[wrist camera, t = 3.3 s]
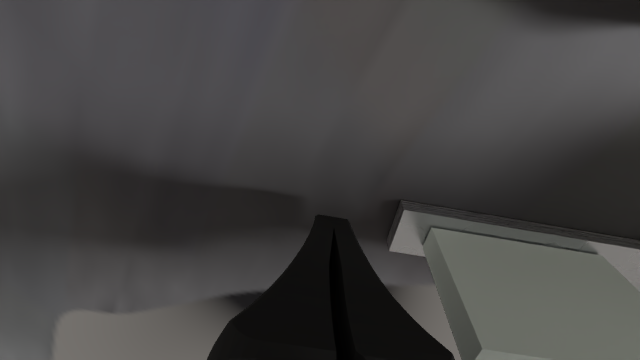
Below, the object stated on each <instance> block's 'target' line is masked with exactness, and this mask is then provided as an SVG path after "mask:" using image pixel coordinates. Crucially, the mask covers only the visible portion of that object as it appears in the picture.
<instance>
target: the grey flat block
mask: <svg viewBox="0 0 640 360" xmlns="http://www.w3.org/2000/svg"><path fill="white" fill-rule="evenodd" d="M422 248H423V251H424V254H425V256H426V259H427V262H428V265H429V268H430V271H431V274H432V276H433V279H434V282H435V285H436V288H437V291H438V294H439V296H440V299H441V302H442V305H443V308H444V311H445V314H446V316H447V319H448V322H449V325H450V328H451V330H452V333H453V336H454V339H455V342H456V345H457V348H458V350H459V354H460V356H461V359H462V360H640V292H639V291H638V290H637V289H636V288H635V287H634V286H633V285H632V284H631V283H630V282H629V281H628V280H627V279H626V278H625V277H624V276H623V275H622V274H621V273H620V272H619V271H618V270H616V269H615V268H614V267H613V266H612V265H611V264H610V263H609V262H608V261H607V260H606V259H605V258H604V257H603V256H601V255H595V254H589V253H583V252H577V251H571V250H565V249H559V248H553V247H546V246H540V245H534V244H528V243H522V242H516V241H510V240H504V239H498V238H492V237H486V236H480V235H474V234H468V233H462V232H456V231H450V230H444V229H438V228H432V227H431V229H430V232H429V234H428V236H427V238H426V241H425V243H424V245H423V247H422Z"/></svg>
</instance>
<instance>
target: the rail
mask: <svg viewBox="0 0 640 360" xmlns="http://www.w3.org/2000/svg"><path fill="white" fill-rule="evenodd" d="M431 227H432V228H438V229H444V230H450V231H456V232H462V233H468V234H474V235H480V236H486V237H492V238H498V239H504V240H510V241H516V242H522V243H528V244H534V245H540V246H546V247H553V248H559V249H565V250H571V251H577V252H583V253H589V254H595V255H601V256H603V257H604V258H605V259H606V260H607V261H608V262H609V263H610V264H611V265H612V266H613V267H614V268H615V269H616V270H618V271H619V272H620V273H621V274H622V275H623V276H624V277H625V278H626V279H627V280H628V281H629V282H630V283H631V284H632V285H633V286H634V287H635V288H636V289H637V290H638V291H640V240H635V239H629V238H623V237H617V236H611V235H605V234H600V233H594V232H588V231H582V230H576V229H570V228H564V227H558V226H552V225H546V224H540V223H534V222H529V221H523V220H517V219H511V218H505V217H499V216H493V215H487V214H481V213H475V212H469V211H463V210H458V209H452V208H446V207H440V206H434V205H428V204H422V203H416V202H410V201H404V200H401V201H400V204H399V207H398V209H397V212H396V215H395V218H394V221H393V223H392V226H391V229H390V232H389V235H388V237H387V244H388V249H389V251H392V252H398V253H405V254H411V255H417V256H423V257H426V256H425V254H424V251H423V248H422V247H423V245H424V243H425V241H426V238H427V236H428V234H429V232H430V229H431Z"/></svg>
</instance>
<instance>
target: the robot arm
mask: <svg viewBox="0 0 640 360" xmlns="http://www.w3.org/2000/svg"><path fill="white" fill-rule="evenodd" d="M207 360H455V359H454V356H453V354H452V353H451V352H450V351H449V350H448V349H446V348H445V347H444V346H443V345H442V344H440V343H439V342H438V341H437V340H436V339H435V338H433V337H432V336H431V335H430V334H429V333H428V332H426V331H425V330H424V329H423V328H422V327H421V326H420V325H419V324H418V323H417V322H416V321H415V320H414V319H413V318H412V317H411V316H410V315H409V314H408V313H407V312H406V311H405V310H404V309H403V307H402V306H401V305H400V304H399V303H398V302H397V301H396V300H395V299H394V297H393V296H392V295H391V294H390V292H389V291H388V290H387V288H386V287H385V286H384V284H383V283H382V282H381V280H380V279H379V277H378V276H377V274H376V273H375V271H374V270H373V268H372V267H371V265H370V263H369V262H368V260H367V258H366V256H365V254H364V253H363V251H362V249H361V247H360V245H359V243H358V241H357V239H356V237H355V235H354V232H353V230H352V228H351V225H350V223H349V221H348V220H347V219H342V218H336V217H330V216H324V215H317V216H315V220H314V224H313V227H312V229H311V232H310V234H309V236H308V238H307V239H306V241H305V243H304V245H303V246H302V248H301V249H300V251H299V252H298V254H297V255H296V257H295V258H294V260H293V261H292V262H291V264H290V265H289V266H288V268H287V269H286V270H285V271H284V272H283V274H282V275H281V276H280V277H279V278H278V279H277V280H276V281H275V282H274V284H273V285H272V286H271V287H270V288H269V289H268V290H267V291H265V292H264V293H263V294H262V295H261V296H260V297H259V298H258V299H257V300H256V301H254V302H253V303H252V304H251V305H250V306H249V307H247V308H246V309H244V310H243V311H242V312H241V313H239V314H238V315H237V316H235V317H234V318H233V319H231V320H230V321H229V323H228V324H227V325H226V327H225V328H224V330H223V331H222V333H221V334H220V336H219V337H218V339H217V341H216V342H215V344H214V346H213V348H212V350H211V352H210V354H209V356H208V358H207Z"/></svg>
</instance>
